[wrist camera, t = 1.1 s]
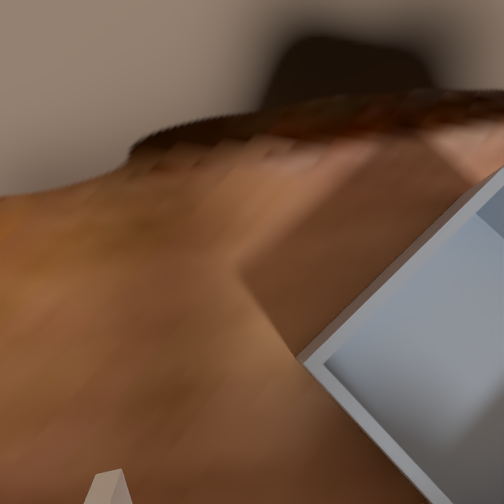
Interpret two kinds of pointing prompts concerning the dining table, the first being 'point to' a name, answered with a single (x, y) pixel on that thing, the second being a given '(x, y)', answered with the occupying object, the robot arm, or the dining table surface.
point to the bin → (430, 354)
